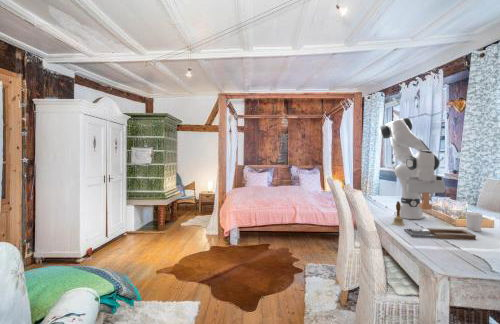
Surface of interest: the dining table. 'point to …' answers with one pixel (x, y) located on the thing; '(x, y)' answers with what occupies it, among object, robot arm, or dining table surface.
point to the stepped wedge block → (425, 202)
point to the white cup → (474, 221)
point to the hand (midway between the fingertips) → (425, 200)
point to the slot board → (452, 234)
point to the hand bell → (398, 216)
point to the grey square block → (416, 231)
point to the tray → (419, 235)
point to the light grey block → (425, 232)
